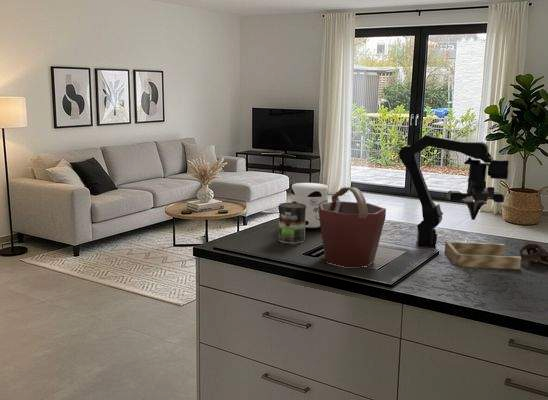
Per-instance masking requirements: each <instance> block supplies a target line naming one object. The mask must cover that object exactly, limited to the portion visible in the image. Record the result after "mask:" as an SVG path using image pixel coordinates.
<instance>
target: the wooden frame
mask: <svg viewBox="0 0 548 400" xmlns="http://www.w3.org/2000/svg"><path fill="white" fill-rule="evenodd" d="M505 247H506V244H505V243H494V242H493V243H491V242H490V243H489V242H468V241H467V242H465V241H464V242H463V241H445V242H444V253H445V255H446V256H447V257H448V258H449V259H450V260H451V262H452V263H453V264H454V265H455V267H464V268H484V269H485V268H486V269H487V268H488V269H504V270H509V269H510V270H521V264H522V261H521V257H519V256H518V255H517V256H515V255H514V256H513V255H512V256H511V255H505Z"/></svg>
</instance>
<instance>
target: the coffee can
mask: <svg viewBox="0 0 548 400" xmlns="http://www.w3.org/2000/svg"><path fill="white" fill-rule="evenodd" d="M278 208H279V210H278V211H279V213H278V239H279V241H281V242H285V243H300V242H303V241H304V240H305V239H306V237H305V236H306V235H305V234H306V229H305V217H306V205H304V204H301V203H291V202H282V203H279V205H278ZM279 241H278V242H279ZM281 242H280V243H281ZM285 243H284V244H285Z"/></svg>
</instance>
